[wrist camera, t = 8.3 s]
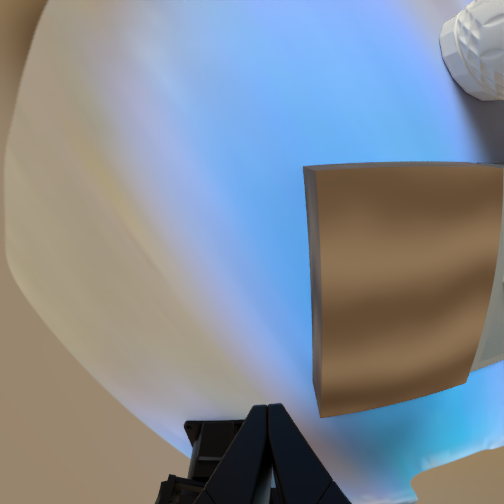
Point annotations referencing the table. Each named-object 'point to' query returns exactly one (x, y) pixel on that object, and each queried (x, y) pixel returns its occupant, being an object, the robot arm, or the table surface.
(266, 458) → the robot arm
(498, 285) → the box
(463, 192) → the plate
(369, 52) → the table surface
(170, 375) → the table surface
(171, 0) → the table surface
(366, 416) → the table surface
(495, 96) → the white cup
